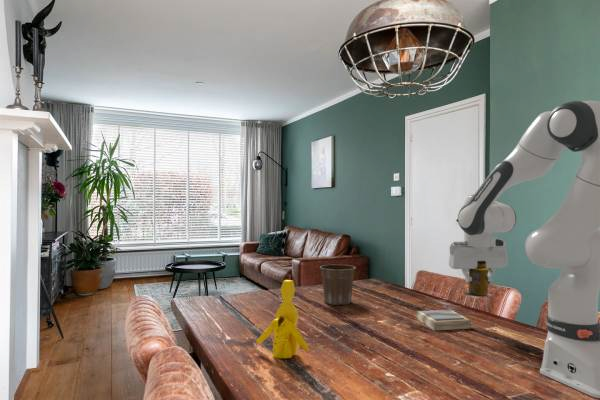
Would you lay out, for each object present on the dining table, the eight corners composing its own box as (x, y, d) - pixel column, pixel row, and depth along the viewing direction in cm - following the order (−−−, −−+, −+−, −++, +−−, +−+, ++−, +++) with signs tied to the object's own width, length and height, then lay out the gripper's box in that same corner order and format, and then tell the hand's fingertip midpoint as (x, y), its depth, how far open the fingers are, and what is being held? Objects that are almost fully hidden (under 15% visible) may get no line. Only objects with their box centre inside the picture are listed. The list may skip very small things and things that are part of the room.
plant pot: (328, 296, 193) (327, 263, 193) (360, 300, 186) (360, 265, 186) (314, 304, 178) (314, 268, 178) (348, 308, 171) (348, 270, 171)
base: (470, 328, 144) (470, 318, 144) (434, 330, 142) (434, 320, 142) (450, 317, 158) (450, 308, 158) (416, 318, 156) (416, 310, 156)
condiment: (493, 295, 137) (493, 260, 137) (478, 298, 132) (478, 262, 132) (473, 291, 143) (473, 258, 143) (459, 294, 138) (459, 259, 139)
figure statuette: (252, 354, 120) (252, 281, 120) (266, 346, 127) (265, 276, 127) (306, 365, 112) (306, 286, 112) (317, 355, 119) (317, 281, 119)
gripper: (454, 242, 133) (455, 284, 133) (510, 241, 137) (511, 282, 136) (445, 241, 140) (445, 280, 139) (498, 239, 143) (499, 278, 142)
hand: (478, 281), depth 138 cm, fingers closed on condiment, 6 cm apart
